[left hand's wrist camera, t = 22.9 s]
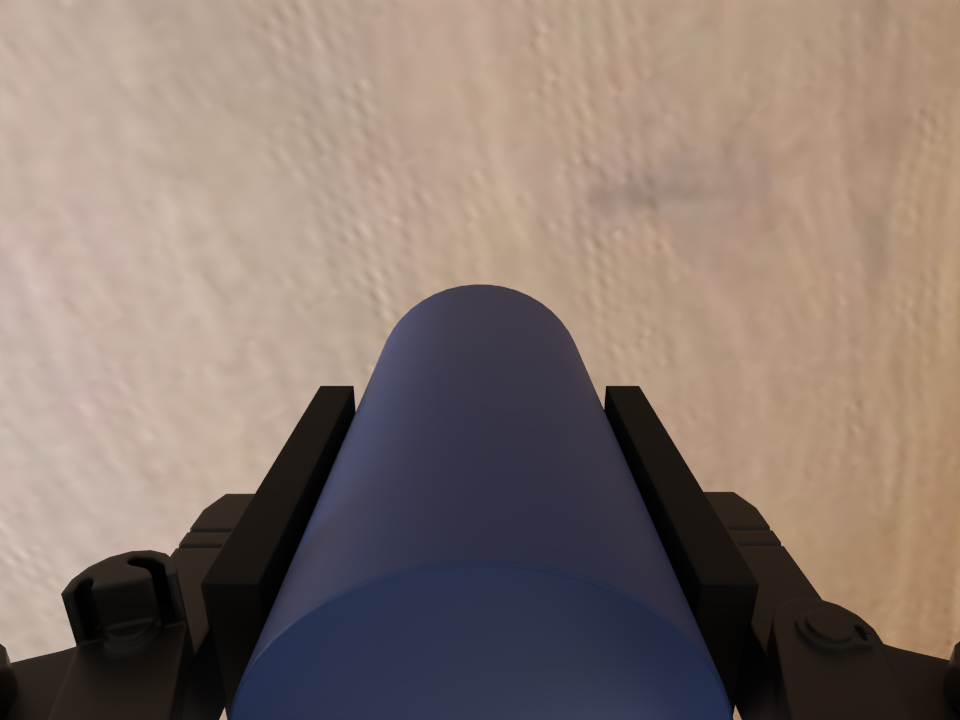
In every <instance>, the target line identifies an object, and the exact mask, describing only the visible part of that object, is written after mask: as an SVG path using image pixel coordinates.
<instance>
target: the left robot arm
mask: <svg viewBox="0 0 960 720" xmlns="http://www.w3.org/2000/svg"><path fill="white" fill-rule="evenodd" d="M604 411H605V414H606V416H607V418H608V421H609V423H610V425H611V428H612V430H613V432H614V434H615V437H616V439H617V441H618V444H619V446H620V448H621V451H622V453H623V455H624V457H625V460H626V462H627V464H628V467H629V469H630V471H631V474H632V476H633V478H634V480H635V483H636V485H637V487H638V490H639V492H640V494H641V496H642V499H643V501H644V503H645V506H646V508H647V510H648V513H649V515H650V517H651V519H652V522H653V524H654V526H655V529H656V531H657V533H658V536H659V538H660V540H661V542H662V545H663V547H664V549H665V552H666V554H667V556H668V559H669V561H670V563H671V565H672V568H673V570H674V572H675V575H676V577H677V579H678V582H679V584H680V586H681V588H682V591H683V593H684V595H685V598H686V600H687V602H688V605H689V607H690V609H691V611H692V614H693V616H694V618H695V621H696V623H697V625H698V628H699V630H700V632H701V634H702V637H703V639H704V641H705V644H706V646H707V648H708V651H709V653H710V655H711V657H712V660H713V662H714V664H715V667H716V669H717V671H718V674H719V676H720V678H721V680H722V683H723V685H724V688H725V691H726V694H727V697H728V700H729V703H730V705H731V708H732V714H733V713H734V708H735V705H736V707H737V710H738V712H739V714H740V716H741V719H742V720H960V642H958V643H957V644H956V645H955V647H954V650H953V652H952V655H951V658H950V661H949V660H945V659H941V658H937V657H932V656H928V655H924V654H919V653H915V652H911V651H907V650H902V649H898V648H895V647H892V646H888V645H885V644H883V642H882V641H881V639H880V638H879V636H878V635H877V633H876V632H875V630H874V629H873V628H872V627H871V626H870V625H868V624H867V623H866V622H865V621H864V620H863V619H861V618H860V617H859V616H858V615H856V614H854V613H852V612H850V611H849V610H847V609H845V608H843V607H841V606H839V605H837V604H833V603H830V602H827V601H823V600H822V599H821V597H820V596H819V595H818V593H817V592H816V590H815V589H814V588H813V586H812V585H811V583H810V582H809V581H808V579H807V578H806V577H805V575H804V574H803V572H802V571H801V570H800V568H799V567H798V565H797V564H796V563H795V561H794V560H793V558H792V557H791V556H790V554H789V553H788V552H787V550H786V549H785V547H784V546H781V542H780V540H779V539H778V538H777V536H776V535H775V533H774V532H773V531H772V530H770V526H769V525H768V524H767V522H766V521H765V520H764V518H763V517H762V515H761V514H760V513H759V511H758V510H757V508H755V507H754V506H753V505H751V504H750V503H748V502H747V501H746V500H744V499H743V498H741V497H740V496H739V495H737V494H736V493H734V492H703V491H702V489H701V487H700V486H699V484H698V482H697V481H696V479H695V477H694V476H693V474H692V473H691V471H690V469H689V468H688V466H687V464H686V463H685V461H684V459H683V458H682V456H681V454H680V453H679V451H678V449H677V448H676V446H675V445H674V443H673V441H672V440H671V438H670V436H669V435H668V433H667V431H666V430H665V428H664V426H663V425H662V423H661V421H660V420H659V418H658V417H657V415H656V413H655V412H654V410H653V408H652V407H651V405H650V403H649V402H648V400H647V398H646V397H645V395H644V393H643V392H642V390H641V388H640V387H639V386H606V394H605V407H604ZM355 413H356V412H355V399H354V387H353V386H320V388H319V389H318V391H317V393H316V394H315V396H314V398H313V399H312V401H311V403H310V404H309V406H308V408H307V409H306V411H305V413H304V414H303V416H302V417H301V419H300V421H299V422H298V424H297V426H296V427H295V429H294V431H293V432H292V434H291V436H290V437H289V439H288V441H287V442H286V444H285V445H284V447H283V449H282V450H281V452H280V454H279V455H278V457H277V459H276V460H275V462H274V464H273V465H272V467H271V469H270V470H269V472H268V473H267V475H266V477H265V478H264V480H263V482H262V483H261V485H260V487H259V488H258V490H257V492H256V493H255V494H225V495H224V496H223V497H221V498H220V499H218V500H217V501H216V502H214V503H213V504H211V505H210V506H209V507H207V508H206V509H204V510H203V512H202V513H201V515H200V516H199V517H198V519H197V520H196V522H195V523H194V524H193V526H192V527H191V529H190V533H187V534H186V536H185V537H184V538H183V540H182V541H181V542H180V544H179V548H176V549H175V551H174V552H173V554H172V555H171V556H170V557H169V556H168V555H167V554H165V553H161V552H156V551H152V550H146V551H131V552H127V553H123V554H120V555H116V556H112V557H109V558H107V559H105V560H103V561H101V562H99V563H96V564H94V565H92V566H90V567H88V568H87V569H86V570H84V571H83V572H82V573H80V574H79V575H78V576H76V577H75V578H74V579H72V580H71V582H70V583H69V584H68V586H67V587H66V588H65V590H64V591H63V592H62V594H61V595H62V598H63V602H64V605H65V608H66V612H67V615H68V618H69V621H70V625H71V628H72V631H73V635H74V638H75V641H76V647H73V648H70V649H67V650H64V651H60V652H56V653H52V654H47V655H43V656H39V657H35V658H30V659H26V660H22V661H18V662H13V663H11V662H10V660H9V657H8V654H7V651H6V648H5V647H4V646H2V645H1V644H0V720H219V719H220V716H221V714H222V712H223V710H224V707H225V710H226V715H227V720H229V715H230V710H231V705H232V702H233V699H234V697H235V694H236V692H237V689H238V687H239V684H240V681H241V679H242V677H243V674H244V672H245V670H246V667H247V665H248V663H249V660H250V658H251V656H252V653H253V651H254V649H255V646H256V644H257V642H258V639H259V637H260V635H261V632H262V630H263V628H264V625H265V623H266V621H267V618H268V616H269V614H270V611H271V609H272V607H273V604H274V602H275V600H276V597H277V595H278V593H279V590H280V588H281V586H282V583H283V581H284V579H285V576H286V574H287V572H288V569H289V567H290V565H291V562H292V560H293V558H294V555H295V553H296V551H297V549H298V546H299V544H300V542H301V539H302V537H303V535H304V532H305V530H306V528H307V525H308V523H309V521H310V518H311V516H312V514H313V511H314V509H315V507H316V504H317V502H318V500H319V497H320V495H321V493H322V490H323V488H324V486H325V483H326V481H327V479H328V476H329V474H330V472H331V469H332V467H333V465H334V462H335V460H336V458H337V455H338V453H339V451H340V448H341V446H342V444H343V441H344V439H345V437H346V434H347V432H348V430H349V427H350V425H351V423H352V420H353V418H354V416H355Z"/></svg>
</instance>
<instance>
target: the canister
mask: <svg viewBox="0 0 960 720" xmlns="http://www.w3.org/2000/svg"><path fill="white" fill-rule="evenodd" d="M229 720H733V714H732V708H731V705H730V703H729V700H728V697H727V694H726V691H725V688H724V685H723V683H722V680H721V678H720V676H719V674H718V671H717V669H716V667H715V664H714V662H713V660H712V657H711V655H710V653H709V651H708V648H707V646H706V644H705V641H704V639H703V637H702V634H701V632H700V630H699V628H698V625H697V623H696V621H695V618H694V616H693V614H692V611H691V609H690V607H689V605H688V602H687V600H686V598H685V595H684V593H683V591H682V588H681V586H680V584H679V582H678V579H677V577H676V575H675V572H674V570H673V568H672V565H671V563H670V561H669V559H668V556H667V554H666V552H665V549H664V547H663V545H662V542H661V540H660V538H659V536H658V533H657V531H656V529H655V526H654V524H653V522H652V519H651V517H650V515H649V513H648V510H647V508H646V506H645V503H644V501H643V499H642V496H641V494H640V492H639V490H638V487H637V485H636V483H635V480H634V478H633V476H632V474H631V471H630V469H629V467H628V464H627V462H626V460H625V457H624V455H623V453H622V451H621V448H620V446H619V444H618V441H617V439H616V437H615V434H614V432H613V430H612V428H611V425H610V423H609V421H608V418H607V416H606V414H605V411H604V409H603V407H602V405H601V402H600V400H599V398H598V395H597V393H596V391H595V388H594V386H593V384H592V382H591V379H590V377H589V375H588V372H587V370H586V368H585V365H584V363H583V361H582V359H581V356H580V354H579V352H578V349H577V347H576V345H575V343H574V341H573V339H572V337H571V335H570V333H569V331H568V330H567V329H566V327H565V326H564V324H563V323H562V322H561V321H560V319H559V318H558V317H557V316H556V315H555V314H554V313H553V312H552V311H551V310H549V309H548V308H547V307H546V306H544V305H543V304H542V303H540V302H539V301H537V300H535V299H533V298H532V297H530V296H528V295H526V294H523V293H521V292H519V291H516V290H513V289H509V288H505V287H501V286H494V285H467V286H459V287H455V288H451V289H447V290H445V291H442V292H439V293H437V294H434V295H432V296H431V297H429V298H427V299H425V300H423V301H422V302H420V303H419V304H418V305H416V306H415V307H413V308H412V309H411V310H410V311H409V312H408V313H407V314H406V315H405V316H404V317H403V318H402V319H401V320H400V321H399V322H398V324H397V325H396V326H395V327H394V329H393V330H392V332H391V334H390V336H389V337H388V339H387V341H386V343H385V346H384V348H383V350H382V353H381V355H380V357H379V360H378V362H377V364H376V367H375V369H374V371H373V374H372V376H371V378H370V381H369V383H368V385H367V388H366V390H365V392H364V395H363V397H362V399H361V402H360V404H359V406H358V409H357V411H356V413H355V416H354V418H353V420H352V423H351V425H350V427H349V430H348V432H347V434H346V437H345V439H344V441H343V444H342V446H341V448H340V451H339V453H338V455H337V458H336V460H335V462H334V465H333V467H332V469H331V472H330V474H329V476H328V479H327V481H326V483H325V486H324V488H323V490H322V493H321V495H320V497H319V500H318V502H317V504H316V507H315V509H314V511H313V514H312V516H311V518H310V521H309V523H308V525H307V528H306V530H305V532H304V535H303V537H302V539H301V542H300V544H299V546H298V549H297V551H296V553H295V555H294V558H293V560H292V562H291V565H290V567H289V569H288V572H287V574H286V576H285V579H284V581H283V583H282V586H281V588H280V590H279V593H278V595H277V597H276V600H275V602H274V604H273V607H272V609H271V611H270V614H269V616H268V618H267V621H266V623H265V625H264V628H263V630H262V632H261V635H260V637H259V639H258V642H257V644H256V646H255V649H254V651H253V653H252V656H251V658H250V660H249V663H248V665H247V667H246V670H245V672H244V674H243V677H242V679H241V681H240V684H239V687H238V689H237V692H236V694H235V697H234V699H233V702H232V705H231V710H230V715H229Z"/></svg>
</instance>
